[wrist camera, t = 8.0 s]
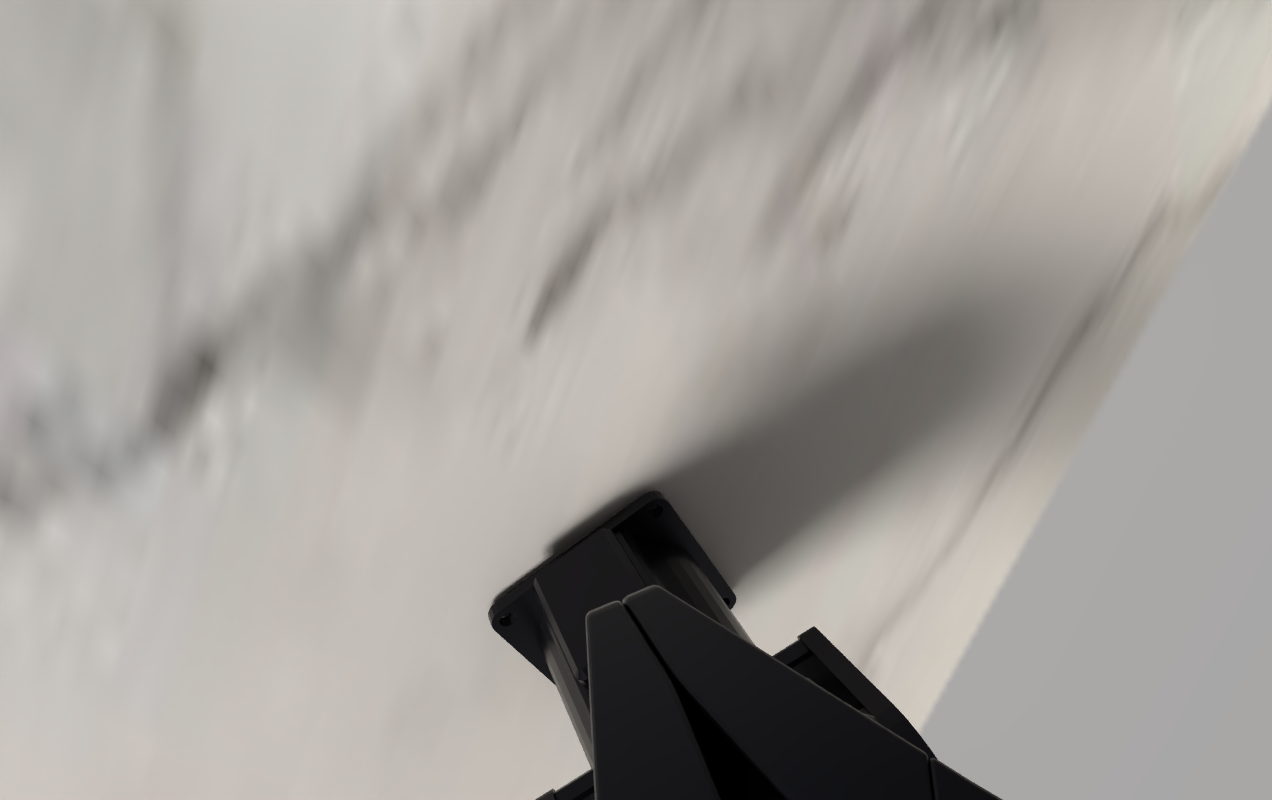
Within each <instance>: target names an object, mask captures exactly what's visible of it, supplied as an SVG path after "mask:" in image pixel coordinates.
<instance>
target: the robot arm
mask: <svg viewBox="0 0 1272 800" xmlns="http://www.w3.org/2000/svg"><path fill="white" fill-rule="evenodd" d="M655 505H657V506H656V507H655V509H653V510H651V511H649V510H650V508H651V507H653V506H655ZM735 603H736V596H735V594H734V593H733V591H732V590H731V589H730V587H729V586H728V584H727V583H726V582H725V580H724V579H723V577H722V576H721V575H720V573H719V572H718V570H717V569H716V568H715V566H714V565H713V563H712V562H711V561H710V559H709V558H708V557H707V555H706V554H705V552H704V551H703V550H702V548H701V547H700V545H699V544H698V543H697V541H696V540H695V538H694V537H693V536H692V534H691V533H690V531H689V530H688V529H687V527H686V526H685V525H684V523H683V522H682V520H681V519H680V518H679V516H678V515H677V513H676V512H675V511H674V509H673V508H672V506H671V505H670V504H669V502H668V501H667V499H666V498H665V497H664V495H663V494H661V493H660V492H657V491H652V492H648V493H646V494H644V495H642V496H641V497H640V498H638V499H637V500H636V501H634V502H633V503H631V504H630V505H629V506H627V507H626V508H625V509H623V510H622V511H620V512H619V513H618V514H616V515H615V516H614V517H612V518H611V519H609V520H608V521H607V522H605V523H604V524H603V525H601V526H600V527H598V528H597V529H596V530H594V531H593V532H592V533H590V534H589V535H588V536H586V537H585V538H583V539H582V540H581V541H579V542H578V543H577V544H575V545H574V546H572V547H571V548H570V549H568V550H567V551H566V552H564V553H563V554H561V555H560V556H559V557H557V558H556V559H555V560H553V561H552V562H550V563H549V564H548V565H546V566H545V567H544V568H542V569H541V570H540V571H538V572H537V573H535V574H534V575H533V576H531V577H530V578H529V579H527V580H526V581H524V582H523V583H522V584H520V585H519V586H518V587H516V588H515V589H513V590H512V591H511V592H509V593H508V594H507V595H505V596H504V597H502V598H501V599H500V600H498V601H497V602H496V603H495V604H494V605H492V606H491V608H490V610H489V612H488V617H489V620H490V623H491V625H492V627H493V629H494V630H495V631H496V632H497V633H498V634H499V635H500V636H501V637H503V638H504V639H505V640H506V641H507V642H508V643H509V644H510V645H511V646H513V647H514V648H515V649H516V650H517V651H518V652H519V653H520V654H521V655H523V656H524V657H525V658H526V659H527V660H528V661H529V662H530V663H531V664H533V665H534V666H535V667H536V668H537V669H538V670H539V671H540V672H541V673H543V674H544V675H545V676H546V677H547V678H548V679H549V680H550V681H551V682H553V683H554V684H555V685H556V686H557V689H558V691H559V693H560V696H561V698H562V700H563V703H564V705H565V707H566V710H567V712H568V714H569V717H570V719H571V722H572V724H573V726H574V729H575V731H576V733H577V736H578V738H579V740H580V743H581V745H582V747H583V750H584V752H585V755H586V757H587V759H588V762H589V764H590V766H591V769H590V770H589V771H587V772H586V773H584V774H582V775H581V776H579V777H578V778H576V779H574V780H573V781H571V782H570V783H568V784H566V785H565V786H563V787H561V788H560V789H558V790H557V791H555V790H554V789H552V790H550V791H548V792H547V793H545V794H544V795H542V796H540V797H539V798H537V799H536V800H1002V799H1000V798H999V797H997V796H995V795H994V794H992V793H990V792H989V791H987V790H985V789H984V788H982V787H980V786H978V785H977V784H975V783H973V782H972V781H970V780H968V779H967V778H965V777H964V776H962V775H960V774H959V773H957V772H956V771H954V770H952V769H951V768H949V767H948V766H946V765H945V764H943V763H942V762H940V761H938V760H937V758H936V757H935V755H934V754H933V752H932V751H931V749H930V748H929V747H928V746H927V744H926V743H925V741H924V740H923V739H922V737H921V736H920V735H919V733H918V732H917V731H916V730H915V728H914V727H913V726H912V725H911V724H910V722H909V721H908V720H907V719H906V718H905V716H904V715H903V714H902V713H901V712H900V711H899V710H898V709H897V708H896V707H895V706H894V705H893V704H892V703H891V702H890V701H889V700H888V699H887V698H886V697H885V696H884V695H883V694H882V693H881V692H880V691H879V690H878V689H877V688H876V687H875V686H874V685H873V684H872V683H871V682H870V681H869V680H868V679H867V678H866V677H865V676H864V675H863V674H862V673H861V672H860V671H859V670H858V669H857V668H856V667H855V666H854V665H853V664H852V663H851V662H850V661H849V660H848V659H847V658H846V657H845V656H844V655H843V654H842V653H841V652H840V651H839V650H838V649H837V648H836V647H835V646H834V645H833V644H832V643H831V642H830V641H829V640H828V639H827V638H826V637H825V636H824V635H823V634H822V633H821V632H820V631H819V630H818V629H817V628H816V627H812V628H810V629H809V630H807V631H805V632H804V633H802V634H801V635H799V636H797V637H798V640H797V641H796V642H794V643H793V644H791V645H789V646H788V647H786V648H785V649H783V650H781V651H780V652H778V653H777V654H775V655H773V656H771V655H769V654H767V653H766V652H764V651H763V650H761V649H759V648H758V647H756V646H755V645H754V643H753V642H752V640H751V639H750V638H749V636H748V635H747V633H746V632H745V630H744V629H743V628H742V626H741V625H740V623H739V622H738V621H737V619H736V618H735V616H734V615H733V613H732V612H731V611H730V610H731V609H732V608H733V606H734V605H735ZM506 614H509V615H508V616H506V617H502V616H504V615H506ZM501 617H502V618H501Z"/></svg>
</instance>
